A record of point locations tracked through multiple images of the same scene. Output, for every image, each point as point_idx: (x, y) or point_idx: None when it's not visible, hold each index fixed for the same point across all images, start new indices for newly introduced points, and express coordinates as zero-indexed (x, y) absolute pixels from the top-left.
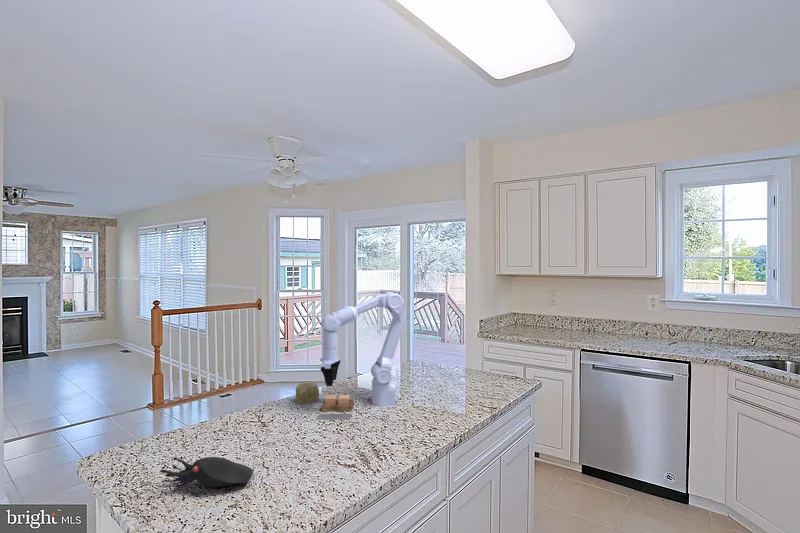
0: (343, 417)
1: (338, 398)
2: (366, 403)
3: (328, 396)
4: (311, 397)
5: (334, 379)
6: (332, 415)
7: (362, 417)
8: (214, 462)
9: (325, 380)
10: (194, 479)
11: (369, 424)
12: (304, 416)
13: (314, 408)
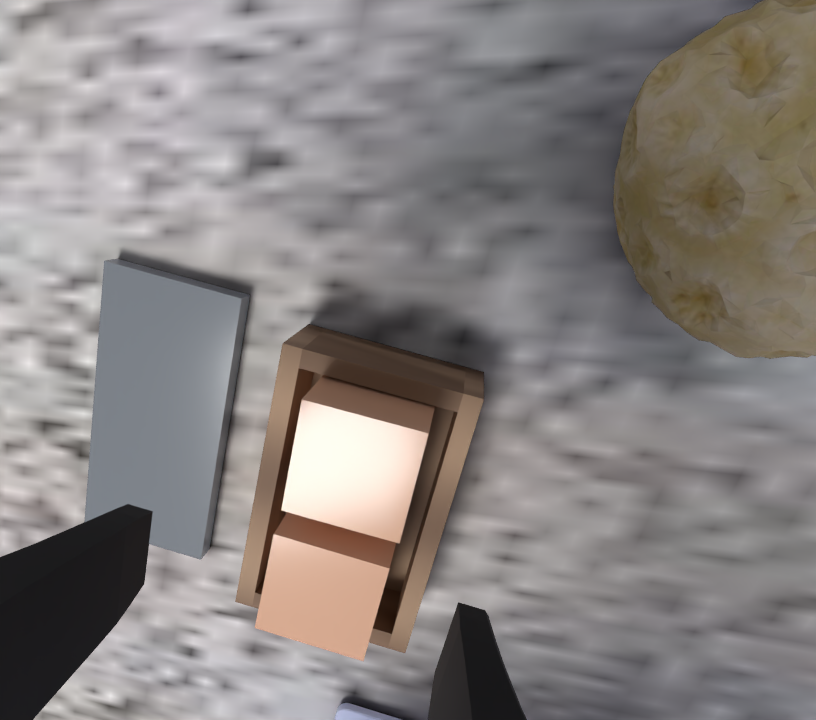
0: (132, 488)
1: (275, 539)
2: None
3: (369, 448)
4: (625, 239)
5: (440, 669)
6: (186, 411)
7: (173, 608)
8: None
9: (37, 549)
10: None
11: None
12: (271, 152)
13: (478, 260)
